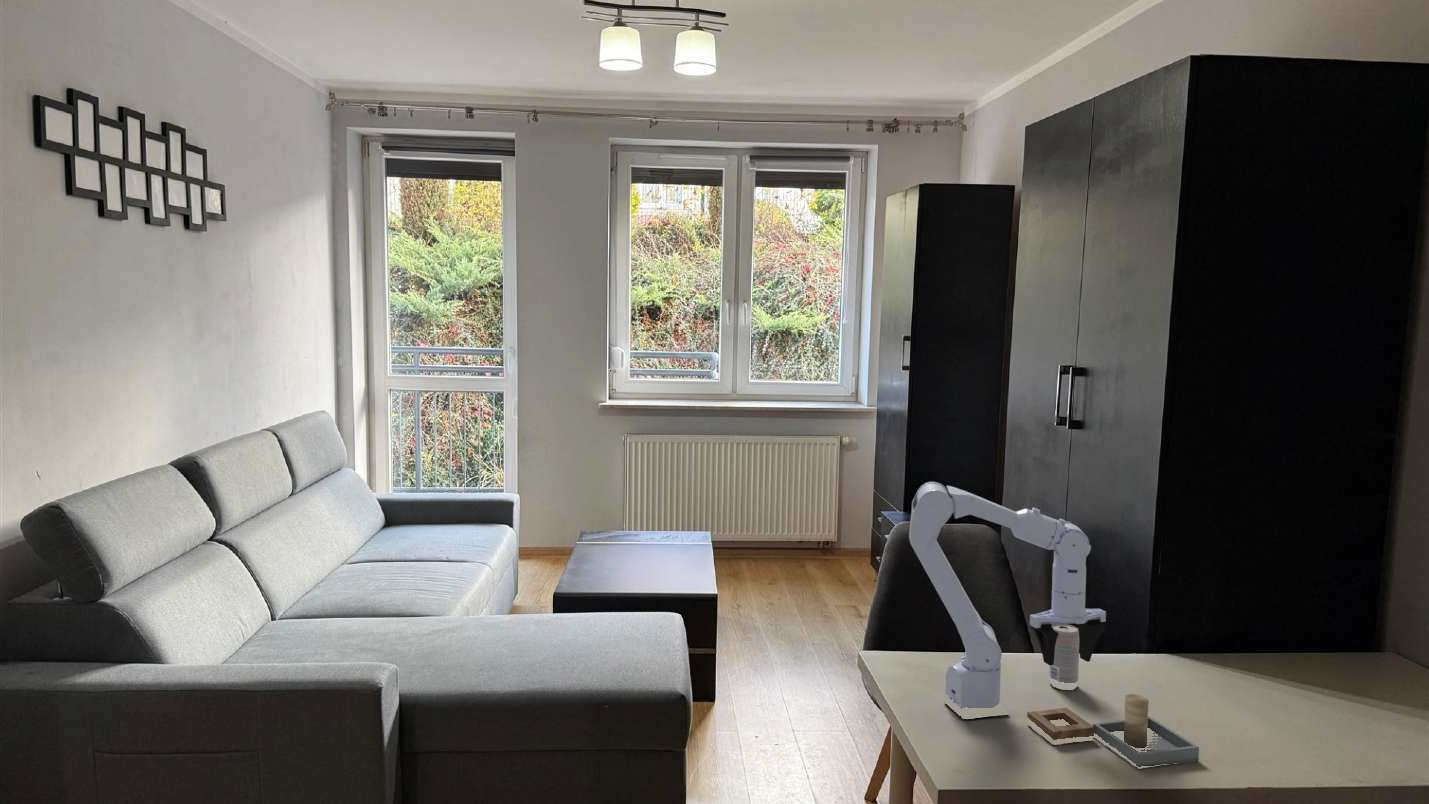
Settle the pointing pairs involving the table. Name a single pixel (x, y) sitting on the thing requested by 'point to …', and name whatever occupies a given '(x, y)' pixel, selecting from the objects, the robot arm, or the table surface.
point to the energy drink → (1066, 654)
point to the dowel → (1136, 720)
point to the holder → (1075, 728)
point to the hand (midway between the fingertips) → (1066, 661)
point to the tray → (1167, 747)
